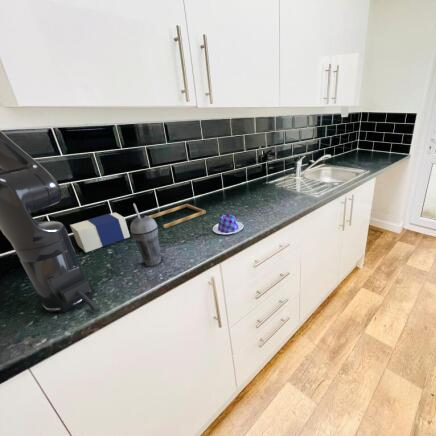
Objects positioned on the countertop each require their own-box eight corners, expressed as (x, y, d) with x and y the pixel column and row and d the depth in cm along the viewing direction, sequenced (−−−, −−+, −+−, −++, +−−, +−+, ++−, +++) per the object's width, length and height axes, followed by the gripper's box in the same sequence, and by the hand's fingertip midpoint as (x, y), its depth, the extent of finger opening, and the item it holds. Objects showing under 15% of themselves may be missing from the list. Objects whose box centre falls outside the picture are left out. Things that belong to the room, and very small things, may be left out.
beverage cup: (170, 257, 83) (157, 199, 75) (155, 269, 77) (138, 208, 68) (151, 254, 85) (136, 197, 76) (134, 266, 78) (115, 206, 70)
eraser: (86, 252, 86) (77, 231, 82) (77, 245, 90) (69, 224, 87) (130, 236, 96) (124, 217, 93) (121, 230, 101) (115, 211, 97)
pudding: (249, 230, 101) (248, 217, 98) (220, 239, 94) (218, 226, 92) (235, 220, 109) (234, 208, 107) (208, 227, 103) (206, 215, 101)
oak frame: (164, 228, 102) (164, 225, 102) (146, 219, 111) (146, 216, 110) (206, 213, 116) (205, 210, 116) (187, 206, 125) (187, 203, 124)
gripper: (-8, 202, 65) (69, 228, 79) (-15, 192, 72) (57, 218, 86) (-29, 228, 63) (53, 250, 77) (-34, 215, 70) (42, 237, 84)
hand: (55, 233), depth 81 cm, fingers closed
